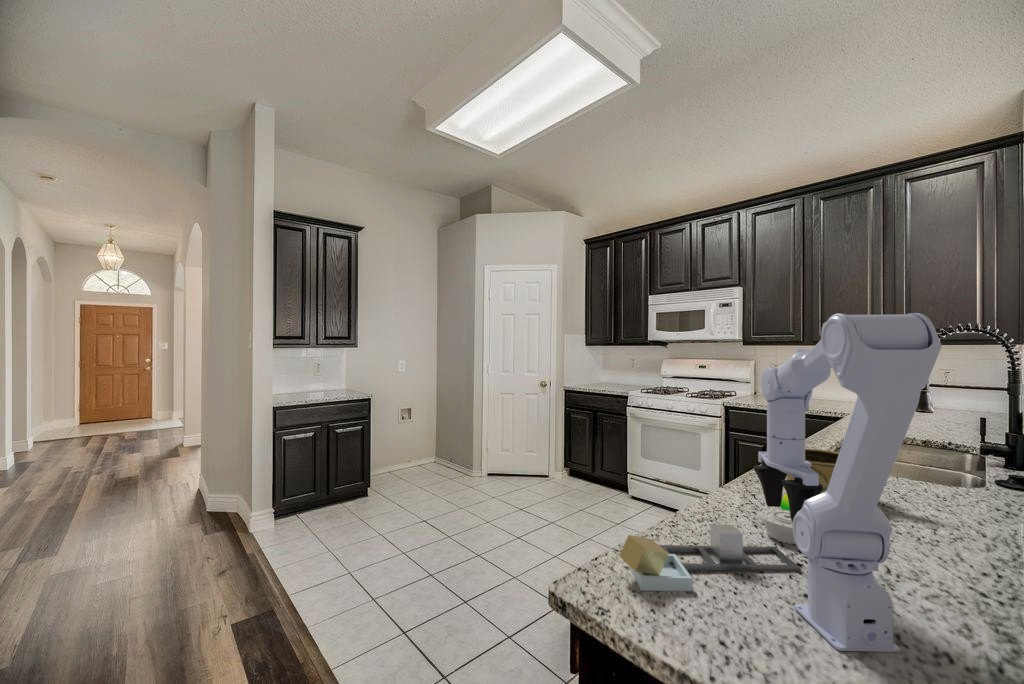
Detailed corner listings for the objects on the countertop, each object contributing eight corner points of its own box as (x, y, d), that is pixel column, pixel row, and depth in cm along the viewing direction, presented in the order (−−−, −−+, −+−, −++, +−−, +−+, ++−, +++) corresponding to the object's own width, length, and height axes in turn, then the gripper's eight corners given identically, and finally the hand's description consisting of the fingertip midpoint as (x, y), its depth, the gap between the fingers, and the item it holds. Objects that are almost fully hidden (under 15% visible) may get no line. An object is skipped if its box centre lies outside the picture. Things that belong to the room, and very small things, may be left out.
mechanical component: (754, 517, 90) (766, 504, 98) (754, 538, 90) (766, 524, 98) (812, 531, 84) (821, 516, 91) (812, 554, 84) (821, 537, 91)
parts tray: (692, 591, 71) (692, 578, 71) (640, 590, 71) (640, 577, 71) (674, 565, 79) (674, 554, 79) (628, 565, 80) (628, 553, 80)
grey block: (742, 567, 79) (742, 533, 79) (719, 567, 79) (719, 533, 79) (732, 556, 83) (732, 524, 83) (710, 556, 83) (710, 524, 83)
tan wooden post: (668, 553, 75) (644, 548, 72) (659, 575, 75) (634, 571, 72) (652, 539, 78) (628, 534, 76) (643, 560, 78) (619, 556, 76)
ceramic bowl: (761, 494, 117) (761, 437, 118) (783, 480, 129) (783, 429, 129) (868, 519, 101) (868, 453, 101) (882, 501, 112) (882, 442, 112)
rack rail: (800, 573, 77) (800, 568, 77) (672, 571, 77) (672, 565, 77) (774, 552, 85) (774, 546, 85) (658, 550, 85) (658, 545, 85)
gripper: (838, 446, 70) (838, 531, 70) (784, 428, 85) (784, 499, 85) (793, 446, 71) (793, 531, 71) (747, 428, 85) (747, 499, 85)
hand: (785, 514), depth 78 cm, fingers open, 7 cm apart
